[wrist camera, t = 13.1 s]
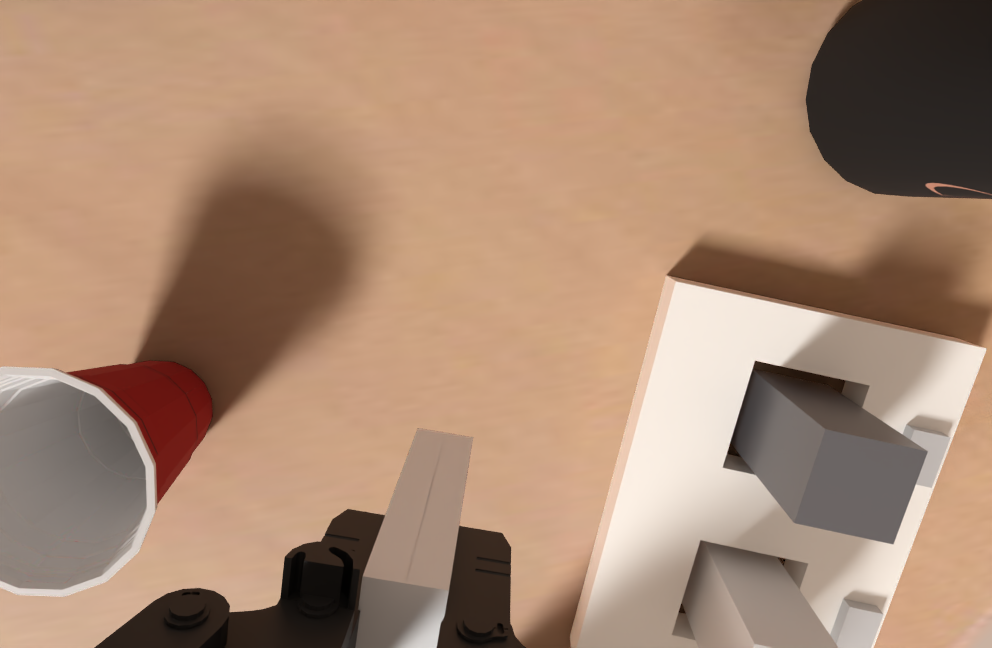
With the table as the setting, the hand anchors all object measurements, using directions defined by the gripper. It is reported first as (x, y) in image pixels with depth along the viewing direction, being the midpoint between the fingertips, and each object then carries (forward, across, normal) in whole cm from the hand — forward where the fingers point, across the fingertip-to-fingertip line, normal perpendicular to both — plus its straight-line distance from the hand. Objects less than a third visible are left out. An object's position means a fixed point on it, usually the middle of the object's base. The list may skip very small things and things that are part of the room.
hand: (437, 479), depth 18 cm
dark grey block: (+21, +18, -3) cm, 28 cm away
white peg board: (+21, +18, -9) cm, 29 cm away
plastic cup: (+22, -18, -9) cm, 30 cm away
